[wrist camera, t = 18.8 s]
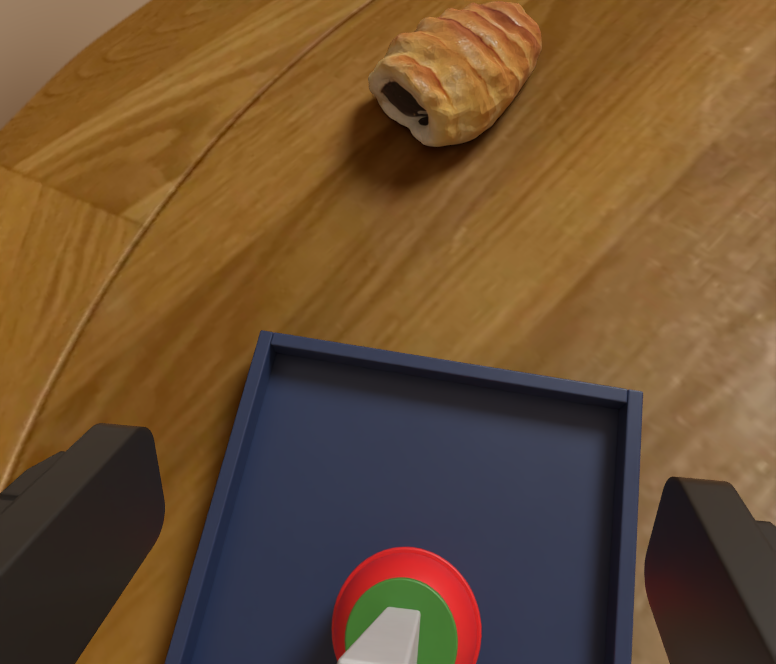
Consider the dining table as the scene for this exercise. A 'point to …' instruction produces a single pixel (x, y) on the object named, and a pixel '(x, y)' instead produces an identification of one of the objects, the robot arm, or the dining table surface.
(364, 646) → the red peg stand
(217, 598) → the tray
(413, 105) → the pastry
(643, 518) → the dining table surface
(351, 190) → the dining table surface
